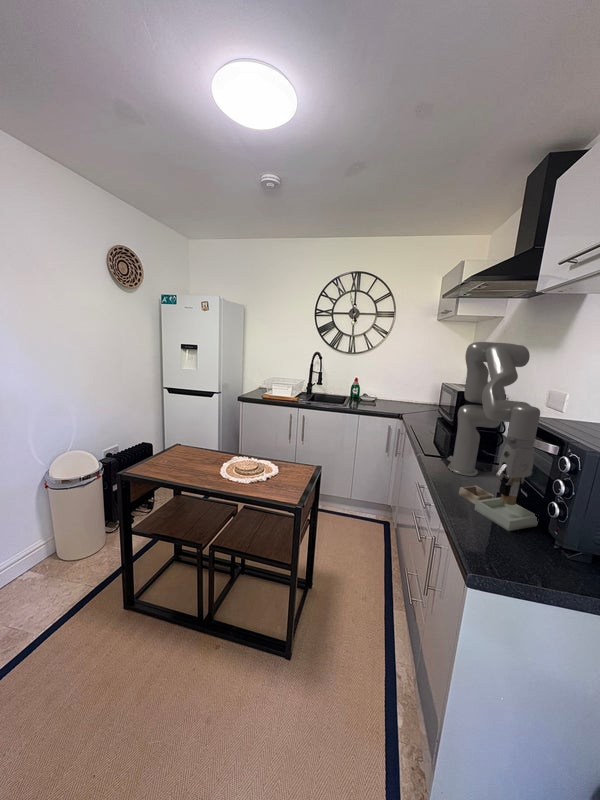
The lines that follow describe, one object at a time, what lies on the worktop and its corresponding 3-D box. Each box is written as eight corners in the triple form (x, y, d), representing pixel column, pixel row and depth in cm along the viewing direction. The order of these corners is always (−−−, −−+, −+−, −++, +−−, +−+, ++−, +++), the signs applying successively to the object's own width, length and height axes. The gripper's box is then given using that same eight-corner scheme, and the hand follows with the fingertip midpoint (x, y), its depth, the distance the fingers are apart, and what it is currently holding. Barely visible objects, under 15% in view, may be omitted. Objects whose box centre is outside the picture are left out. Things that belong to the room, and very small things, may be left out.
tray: (474, 509, 111) (476, 500, 110) (501, 505, 115) (503, 497, 114) (508, 531, 99) (510, 521, 98) (536, 525, 103) (539, 516, 102)
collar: (458, 494, 122) (459, 487, 121) (474, 492, 125) (475, 485, 124) (476, 505, 114) (477, 497, 114) (492, 502, 117) (494, 495, 116)
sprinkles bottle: (496, 498, 108) (503, 462, 105) (508, 499, 108) (516, 462, 106) (506, 505, 103) (514, 468, 101) (519, 505, 104) (527, 468, 101)
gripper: (511, 447, 96) (501, 502, 99) (549, 445, 101) (538, 496, 104) (490, 440, 103) (481, 491, 106) (526, 438, 108) (516, 486, 111)
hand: (509, 493), depth 105 cm, fingers closed on sprinkles bottle, 4 cm apart
